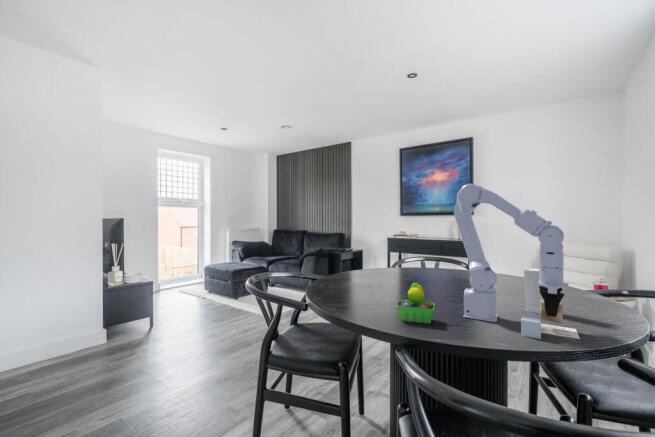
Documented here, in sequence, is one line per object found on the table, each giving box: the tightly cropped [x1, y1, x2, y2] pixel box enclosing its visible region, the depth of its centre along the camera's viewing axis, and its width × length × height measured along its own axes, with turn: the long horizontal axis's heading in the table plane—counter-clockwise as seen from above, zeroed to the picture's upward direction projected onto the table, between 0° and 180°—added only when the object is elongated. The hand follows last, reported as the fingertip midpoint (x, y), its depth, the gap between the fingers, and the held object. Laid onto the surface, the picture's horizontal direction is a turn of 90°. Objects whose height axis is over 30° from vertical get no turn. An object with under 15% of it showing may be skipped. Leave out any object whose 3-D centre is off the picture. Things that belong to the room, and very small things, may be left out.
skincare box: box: [523, 267, 543, 314], centre depth 106 cm, size 8×6×15 cm
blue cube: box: [520, 315, 542, 340], centre depth 85 cm, size 4×4×4 cm
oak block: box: [539, 299, 564, 324], centre depth 89 cm, size 5×5×5 cm
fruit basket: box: [396, 282, 436, 325], centre depth 99 cm, size 11×9×11 cm
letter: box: [541, 323, 581, 340], centre depth 89 cm, size 12×9×1 cm
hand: (550, 313), depth 89 cm, fingers closed on oak block, 5 cm apart
